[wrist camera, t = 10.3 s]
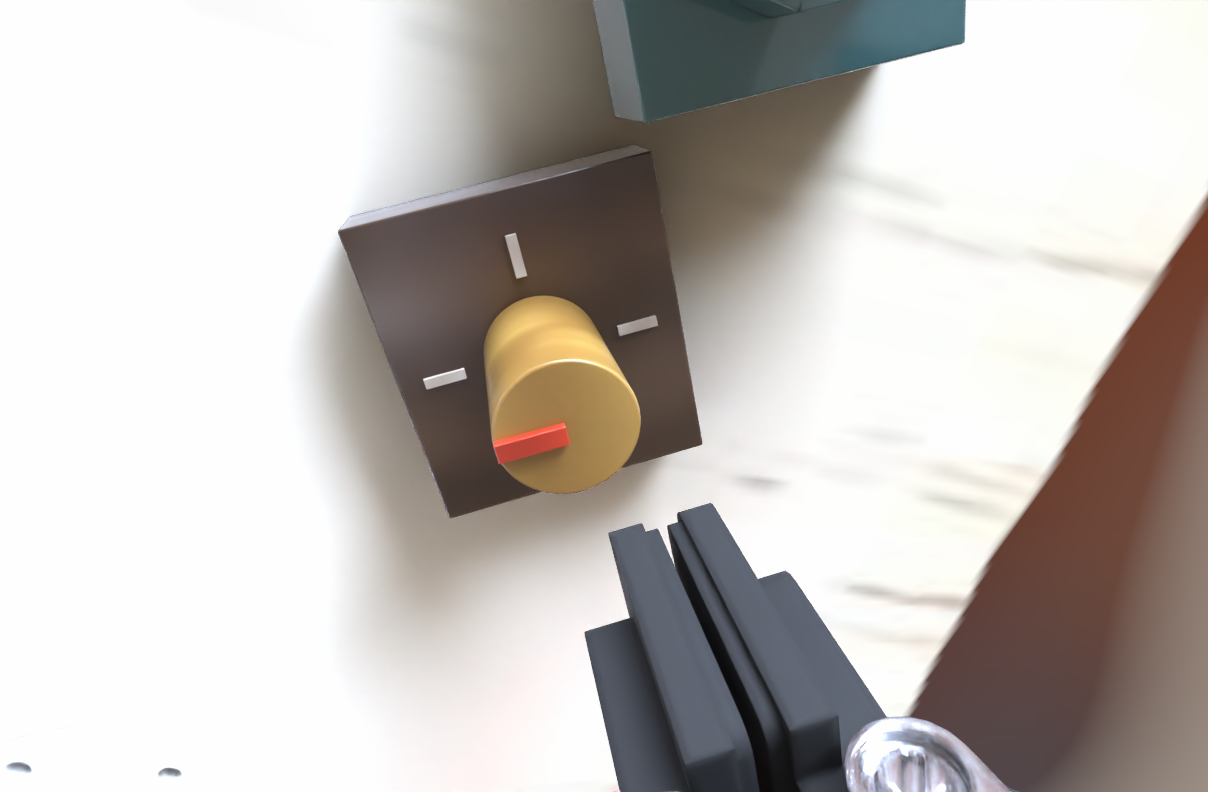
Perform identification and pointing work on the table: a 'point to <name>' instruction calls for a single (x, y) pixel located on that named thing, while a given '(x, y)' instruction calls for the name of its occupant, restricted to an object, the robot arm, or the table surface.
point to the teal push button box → (755, 46)
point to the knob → (556, 397)
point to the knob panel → (511, 273)
